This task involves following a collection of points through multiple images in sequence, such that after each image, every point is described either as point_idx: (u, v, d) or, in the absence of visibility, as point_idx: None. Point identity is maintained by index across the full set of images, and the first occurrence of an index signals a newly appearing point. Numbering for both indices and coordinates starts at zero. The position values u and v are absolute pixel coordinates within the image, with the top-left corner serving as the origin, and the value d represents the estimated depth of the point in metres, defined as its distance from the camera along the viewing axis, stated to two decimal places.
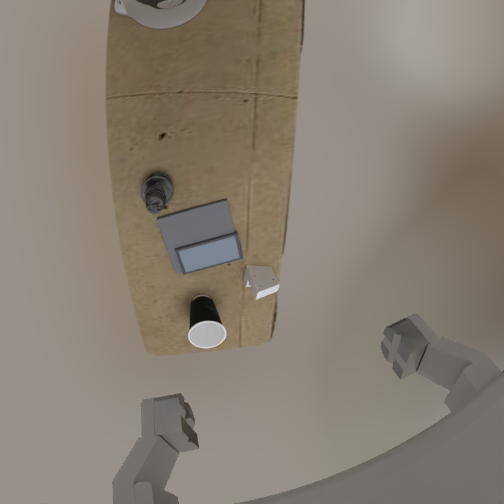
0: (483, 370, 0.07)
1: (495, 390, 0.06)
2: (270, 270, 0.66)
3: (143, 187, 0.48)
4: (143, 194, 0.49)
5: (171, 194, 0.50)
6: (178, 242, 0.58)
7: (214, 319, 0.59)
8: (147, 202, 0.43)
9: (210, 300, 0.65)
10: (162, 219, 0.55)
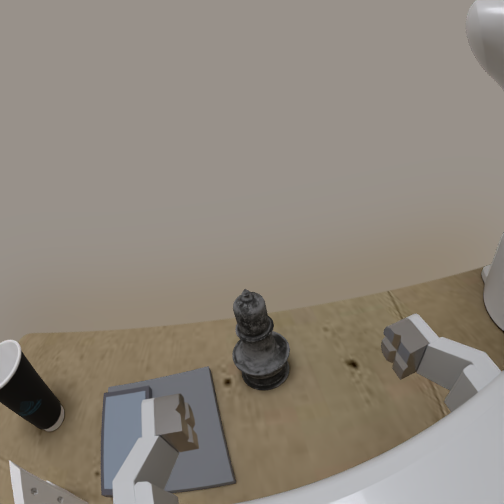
0: (483, 370, 0.07)
1: (495, 390, 0.06)
2: None
3: None
4: None
5: (255, 371, 0.27)
6: (160, 395, 0.29)
7: (12, 386, 0.20)
8: (255, 293, 0.26)
9: (47, 422, 0.24)
10: (207, 373, 0.30)
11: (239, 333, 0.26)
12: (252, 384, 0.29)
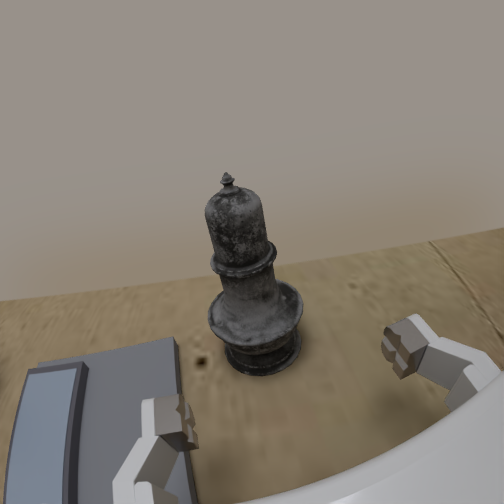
0: (483, 370, 0.07)
1: (495, 390, 0.06)
2: None
3: None
4: None
5: (244, 339, 0.16)
6: (99, 377, 0.17)
7: None
8: None
9: None
10: (170, 347, 0.19)
11: (215, 264, 0.15)
12: (240, 365, 0.18)
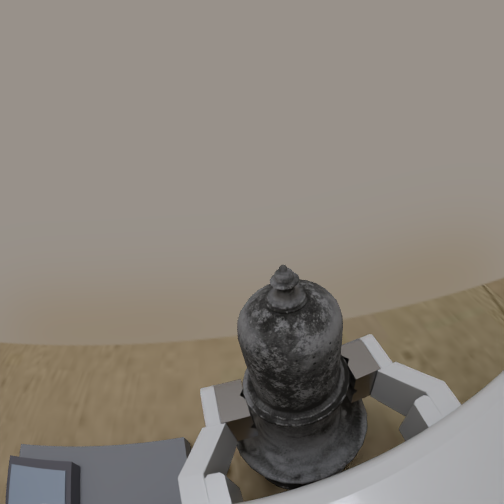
0: (438, 402, 0.07)
1: (495, 390, 0.06)
2: None
3: None
4: None
5: (291, 475, 0.09)
6: (94, 482, 0.11)
7: None
8: None
9: None
10: (181, 453, 0.13)
11: (253, 400, 0.08)
12: None
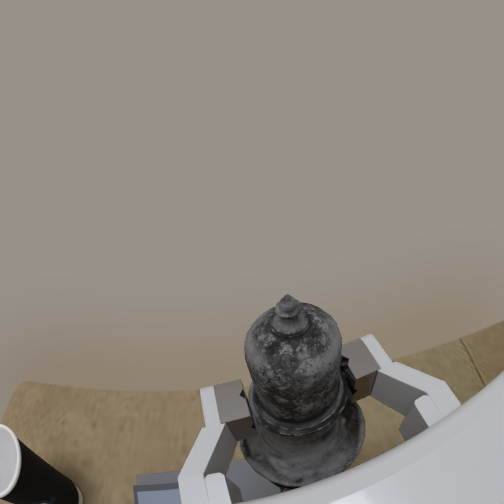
0: (439, 402, 0.07)
1: (495, 390, 0.06)
2: None
3: None
4: None
5: (293, 479, 0.09)
6: None
7: (18, 492, 0.10)
8: None
9: None
10: None
11: (258, 411, 0.09)
12: None
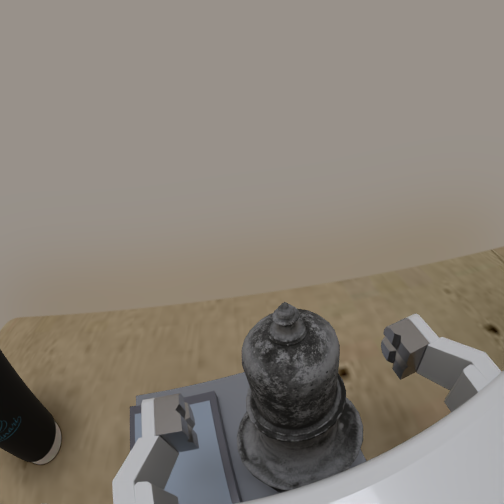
0: (483, 370, 0.07)
1: (495, 390, 0.06)
2: None
3: None
4: None
5: (290, 483, 0.09)
6: (236, 406, 0.17)
7: None
8: None
9: (34, 452, 0.12)
10: None
11: (255, 417, 0.09)
12: None
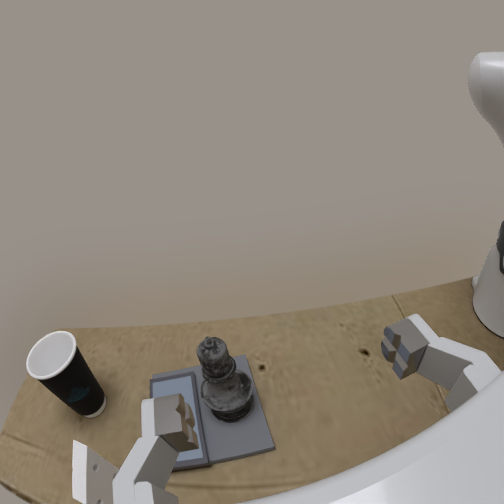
0: (483, 370, 0.07)
1: (495, 390, 0.06)
2: None
3: (236, 370, 0.31)
4: None
5: (219, 407, 0.27)
6: None
7: (67, 373, 0.26)
8: (218, 338, 0.27)
9: (92, 408, 0.30)
10: (244, 360, 0.37)
11: (203, 373, 0.27)
12: (218, 416, 0.30)
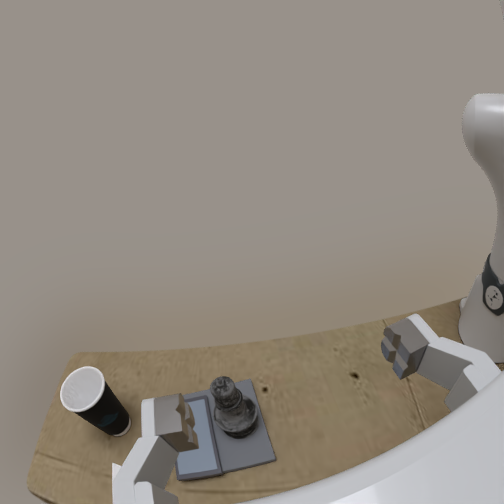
0: (483, 370, 0.07)
1: (495, 390, 0.06)
2: None
3: (243, 396, 0.36)
4: None
5: (229, 428, 0.32)
6: None
7: (99, 404, 0.31)
8: (227, 377, 0.31)
9: (120, 429, 0.35)
10: (250, 384, 0.41)
11: (215, 403, 0.31)
12: (229, 433, 0.34)
